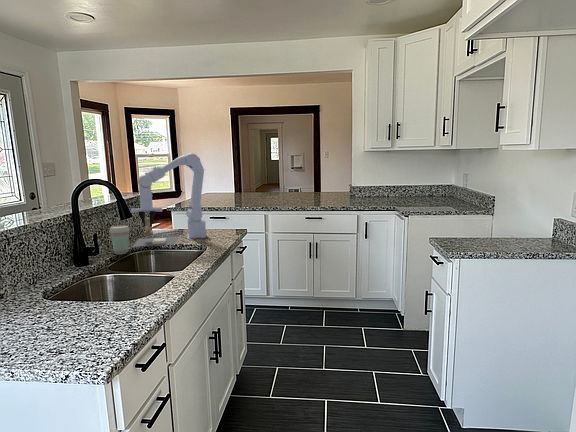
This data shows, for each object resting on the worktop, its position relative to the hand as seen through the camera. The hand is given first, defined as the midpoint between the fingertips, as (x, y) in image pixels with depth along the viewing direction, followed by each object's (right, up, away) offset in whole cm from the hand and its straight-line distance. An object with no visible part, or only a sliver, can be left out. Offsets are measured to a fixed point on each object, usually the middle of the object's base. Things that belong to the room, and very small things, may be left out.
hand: (147, 226), depth 193 cm
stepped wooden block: (0, -4, +1) cm, 4 cm away
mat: (+4, -8, +1) cm, 9 cm away
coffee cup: (-5, -12, -19) cm, 23 cm away
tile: (+6, -7, 0) cm, 9 cm away
